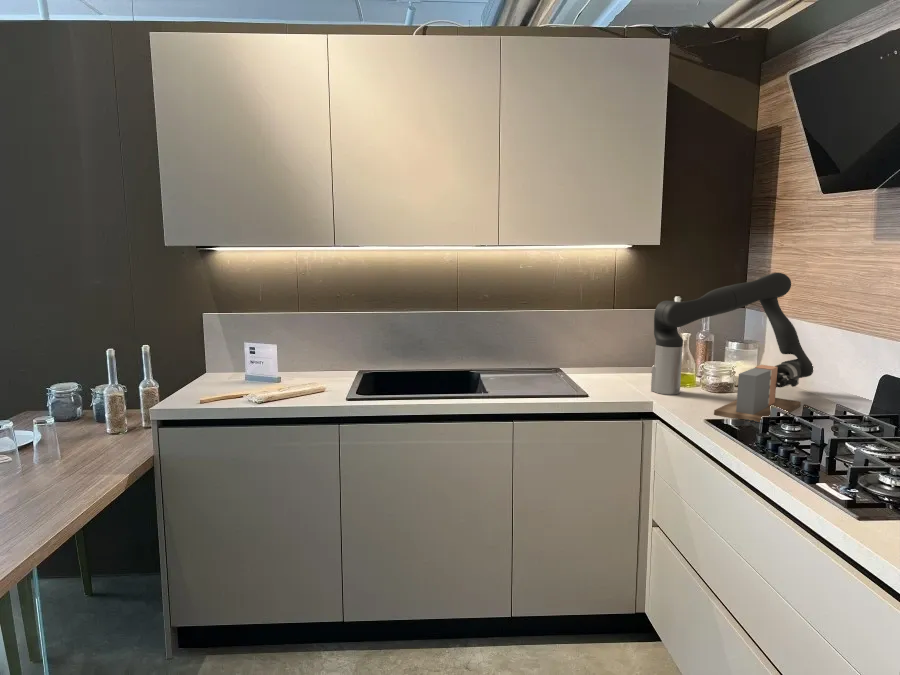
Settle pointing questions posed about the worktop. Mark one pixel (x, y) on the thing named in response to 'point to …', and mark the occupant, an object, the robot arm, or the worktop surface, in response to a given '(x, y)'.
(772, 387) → the terracotta stub
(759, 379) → the charcoal ticket block
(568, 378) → the worktop surface
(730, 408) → the walnut board
